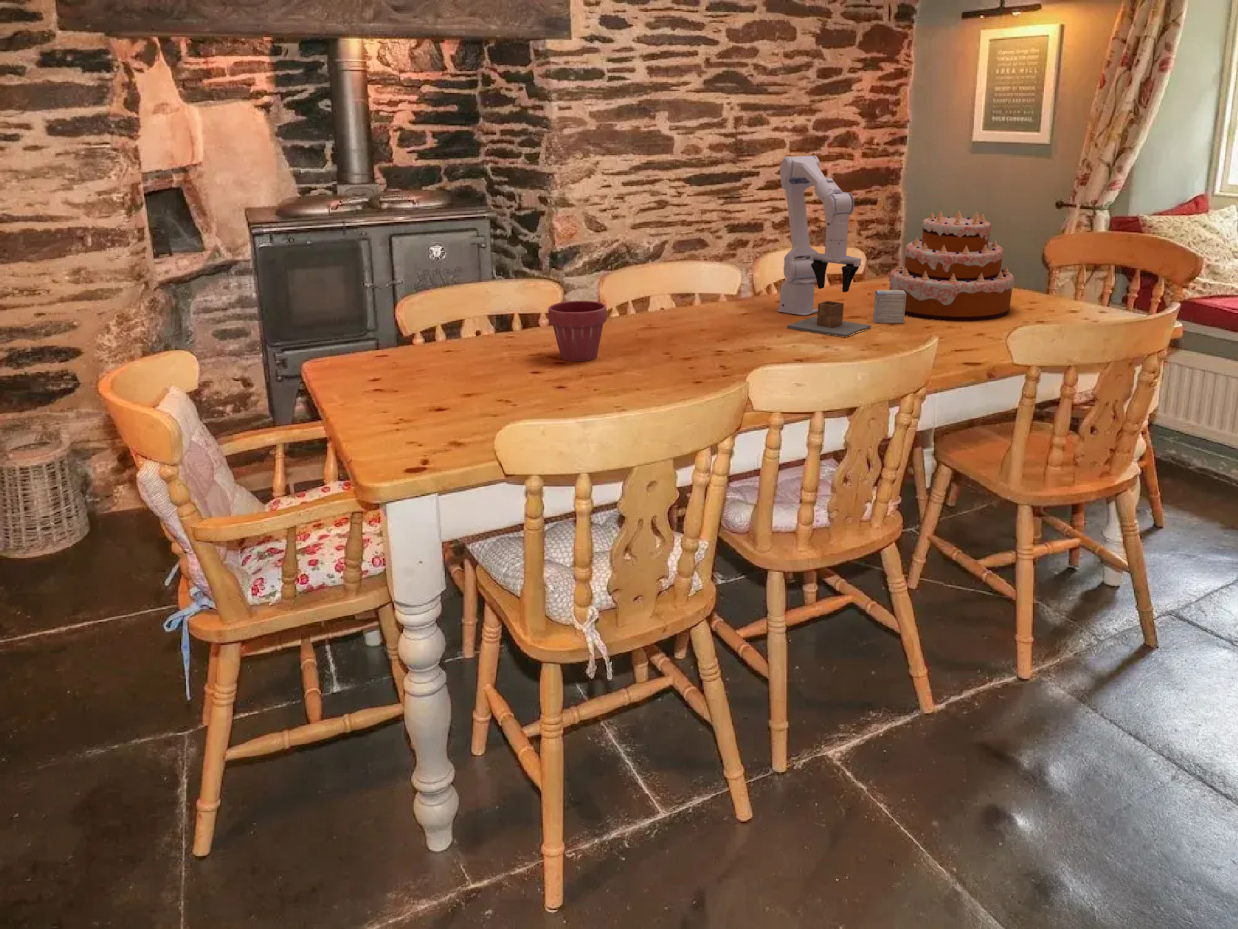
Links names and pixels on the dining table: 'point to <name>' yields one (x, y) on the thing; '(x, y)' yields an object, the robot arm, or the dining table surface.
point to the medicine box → (889, 306)
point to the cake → (954, 272)
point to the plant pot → (578, 328)
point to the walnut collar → (830, 314)
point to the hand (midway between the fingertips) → (833, 289)
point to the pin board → (841, 330)
